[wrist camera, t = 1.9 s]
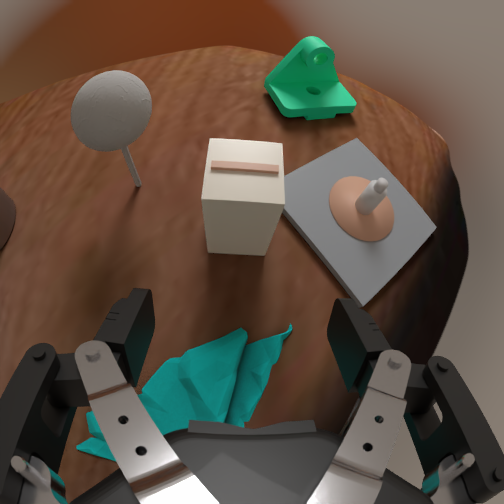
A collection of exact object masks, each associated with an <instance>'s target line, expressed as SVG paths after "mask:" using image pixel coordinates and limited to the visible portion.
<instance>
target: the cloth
mask: <svg viewBox="0 0 504 504" xmlns="http://www.w3.org/2000/svg"><path fill="white" fill-rule="evenodd" d="M292 330H293V329H292V325H291V324H290V326H289V329H288V331H287V332H285V333H282V334H279V335H275V336H272V337H269V338H265V339H262V340H259V341H256V342H254V343H251V344H249V345H246V343H247V340H248V335H247V332H246V331H244V330H243V329H242V328H239V329H237V330H235V331H233V332H231V333H229V334H227V335H226V336H223V337H221V338H219V339H216V340H214V341H211V342H208V343H206V344H203V345H201V346H198V347H195V348H193V349H190V350H188V351H187V352H186V353H185V354H184V355H183V356H182V357H179V358H170V359H169V360H167V361H166V362H165V363H164V364H163V365H162V366H161V367H160V368H159V369H158V370H157V372H156V373H155V374H154V375H153V376H152V377H151V379H150V380H149V381H148V382H147V384H146V385H145V386H144V387H143V389H142V394H140V395H137V396H138V398H139V399H140V401H141V403H142V404H143V406H144V408H145V409H146V411H147V412H148V414H149V416H150V417H151V419H152V420H153V422H154V423H155V425H156V426H157V428H158V429H159V431H160V432H161V434H162V435H165V434H167V433H169V432H172V431H175V430H179V429H184V428H188V425H189V420H198V421H212V422H223V423H227V424H231V425H235V426H239V427H244V422H247V421H249V420H250V418H251V416H252V413H253V411H254V409H255V407H256V405H257V403H258V401H259V400H260V398H261V396H262V393H263V391H264V389H265V387H266V384H267V382H268V378H269V374H270V371H271V367H272V365H273V364H275V363H277V360H278V358H279V356H280V352H281V349H282V344H283V340H284V339H285V338H286V337H287V336H288V335H289V334H290V332H291V331H292ZM86 417H87V422H88V427H89V432H90V433H91V434H92V435H94V436H95V437H97V438H89V439H88V440H86V441H85V442H83V443H81V444H79V445H77V446H76V447H77V450H80V451H83V452H86V453H89V454H93V455H96V456H99V457H103V458H107V459H110V460H113V461H116V459H115V458H114V456H113V454H112V452H111V450H110V448H109V446H108V444H107V442H106V440H105V438H104V435H103V433H102V431H101V429H100V427H99V425H98V422H97V420H96V418H95V415H94V413H93V411H91V412H88V413H86Z"/></svg>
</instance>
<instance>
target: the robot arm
mask: <svg viewBox="0 0 504 504" xmlns="http://www.w3.org/2000/svg"><path fill="white" fill-rule="evenodd" d="M15 215H16V209H15V204H14V202H13V200H12V199H11V198H10V197H9V196H8V195H7V194H6V193H5V192H4V191H3V190H2V189H1V188H0V249H1V248H2V247H3V246H4V244H5V243H6V241H7V239H8V238H9V236H10V233H11V231H12V229H13V225H14V222H15ZM154 329H155V316H154V308H153V299H152V292H151V290H150V289H140V288H133V290H132V291H131V293H130V295H129V297H128V298H127V299H125V298H122V299H120V300H119V301H118V302H116V303H115V304H114V305H113V306H112V308H111V310H110V311H109V313H108V315H107V317H106V320H104V322H103V324H102V325H101V327H100V329H99V331H98V332H97V334H96V336H95V338H94V340H93V341H88V342H85V343H83V344H82V345H80V346H79V347H78V348H77V350H76V352H75V353H69V354H57V353H56V351H55V349H54V347H53V346H51V345H50V344H47V343H40V344H36V345H34V346H32V347H31V348H29V349H28V350H27V352H26V353H25V355H24V357H23V358H22V360H21V362H20V363H19V365H18V367H17V369H16V370H15V372H14V374H13V376H12V378H11V379H10V381H9V383H8V385H7V387H6V389H5V391H4V393H3V394H2V396H1V398H0V504H68V503H67V501H66V497H65V485H64V482H63V481H62V479H61V478H60V477H59V476H58V471H59V467H60V463H61V459H62V455H63V452H64V448H65V444H66V441H67V438H68V434H69V431H70V428H71V424H72V421H73V418H74V415H75V412H76V409H77V407H81V406H91V408H92V411H93V413H94V415H95V418H96V420H97V422H98V425H99V427H100V429H101V431H102V433H103V435H104V438H105V440H106V442H107V444H108V446H109V448H110V450H111V452H112V454H113V456H114V458H115V459H116V461H117V463H118V465H119V467H120V468H119V469H117V470H116V471H115V472H113V473H112V474H110V475H109V476H108V477H106V478H105V479H104V480H102V481H101V482H99V483H98V484H96V485H95V486H94V487H92V488H91V489H89V490H88V491H86V492H85V493H83V494H82V495H80V496H79V497H77V498H76V499H74V500H73V501H72V502H71V503H70V504H483V503H484V502H486V501H488V500H489V499H491V498H492V497H494V496H495V495H497V494H498V493H500V492H501V491H503V490H504V454H503V452H502V450H501V448H500V446H499V444H498V442H497V440H496V438H495V436H494V434H493V432H492V430H491V428H490V426H489V424H488V422H487V420H486V419H485V417H484V415H483V413H482V411H481V410H480V408H479V406H478V404H477V402H476V401H475V399H474V397H473V396H472V394H471V392H470V391H469V389H468V387H467V386H466V384H465V382H464V381H463V379H462V377H461V376H460V374H459V373H458V371H457V369H456V368H455V366H454V365H453V364H452V363H451V361H449V360H448V359H446V358H444V357H441V356H433V357H431V358H430V359H429V361H428V362H427V364H426V365H420V364H412V363H411V362H410V360H409V358H408V357H407V356H406V355H405V354H403V353H402V352H399V351H396V350H392V349H391V347H390V346H389V344H388V342H387V341H386V339H385V337H384V336H383V334H382V332H381V331H379V328H378V326H377V325H376V323H375V321H374V320H373V318H372V316H371V315H369V314H368V313H367V312H366V311H364V310H363V309H359V307H358V305H357V304H356V302H355V300H354V299H343V298H338V299H336V300H335V302H334V306H333V309H332V313H331V316H330V320H329V323H328V328H327V337H328V341H329V343H330V346H331V348H332V351H333V353H334V356H335V358H336V361H337V364H338V366H339V369H340V371H341V374H342V377H343V379H344V382H345V385H346V387H347V390H348V393H350V392H359V395H360V396H359V397H358V399H357V401H356V403H355V405H354V408H353V410H352V412H351V414H350V416H349V418H348V420H347V422H346V424H345V425H344V427H343V429H342V431H341V433H340V435H338V434H335V433H333V432H330V431H327V430H324V429H319V428H316V427H315V423H314V420H306V421H292V422H282V423H278V424H274V425H270V426H266V427H262V428H258V429H249V428H244V427H239V426H235V425H231V424H227V423H223V422H212V421H198V420H189V425H188V428H184V429H179V430H175V431H172V432H169V433H167V434H165V435H162V434H161V432H160V431H159V429H158V428H157V426H156V425H155V423H154V422H153V420H152V419H151V417H150V416H149V414H148V412H147V411H146V409H145V408H144V406H143V404H142V403H141V401H140V399H139V398H138V396H137V394H136V392H135V391H134V389H133V387H136V386H137V383H138V379H139V376H140V373H141V370H142V366H143V363H144V360H145V357H146V354H147V351H148V348H149V345H150V342H151V339H152V336H153V333H154ZM436 402H437V404H438V406H439V408H440V410H441V412H442V416H443V419H442V423H441V422H440V420H439V418H438V415H437V413H436V411H435V409H434V407H433V405H434V404H435V403H436ZM403 417H404V419H405V422H406V424H407V427H408V429H409V432H410V434H411V437H412V440H413V443H414V445H415V448H416V451H417V454H418V456H419V459H420V462H421V465H422V468H423V471H424V474H425V477H424V479H423V483H422V488H421V490H420V489H418V488H417V487H415V486H413V485H412V484H410V483H408V482H407V481H405V480H404V479H402V478H401V477H399V476H398V475H396V474H394V473H393V472H391V471H390V470H388V469H387V468H386V466H387V463H388V461H389V458H390V455H391V452H392V450H393V447H394V444H395V441H396V438H397V435H398V432H399V429H400V425H401V422H402V419H403Z"/></svg>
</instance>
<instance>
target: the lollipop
mask: <svg viewBox="0 0 504 504" xmlns="http://www.w3.org/2000/svg"><path fill="white" fill-rule="evenodd" d="M151 109H152V102H151V96H150V93H149V91H148V89H147V87H146V85H145V84H144V83H143V82H142V81H141V80H140V79H139V78H138V77H136V76H135V75H133V74H131V73H128V72H124V71H116V70H113V71H108V72H104V73H101V74H99V75H97V76H95V77H93V78H92V79H90V80H89V81H87V82H86V83H85V84H84V85H83V86H82V87H81V89H80V90H79V91H78V93H77V95H76V97H75V99H74V102H73V105H72V109H71V123H72V127H73V130H74V132H75V134H76V136H77V137H78V139H79V140H80V141H81V142H82V143H83V144H85V145H86V146H87V147H89V148H91V149H94V150H98V151H105V152H106V151H114V150H118V149H121V150H122V153H123V155H124V158H125V160H126V163H127V165H128V168H129V170H130V172H131V175H132V177H133V180H134V182H135V184H136V186H137V187H140V186H141V181H140V178H139V176H138V173H137V170H136V168H135V165H134V163H133V160H132V157H131V155H130V152H129V149H128V145H129V144H131V143H132V142H134V141H135V140H136V139H137V138H138V137H139V136H140V135H141V134H142V133H143V131H144V130H145V128H146V126H147V124H148V122H149V119H150V115H151V112H152V110H151Z"/></svg>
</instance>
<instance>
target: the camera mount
mask: <svg viewBox="0 0 504 504" xmlns="http://www.w3.org/2000/svg"><path fill="white" fill-rule="evenodd" d="M334 58H335V54H334V52H333V51H332V49H331V48H330V47H328V46H327V45H326V44H325V43H324V42H323V41H322V40H321V39H320V38H318V37H315V36H309V37H306V38H304V39H302V40H301V41H300V42H299V43H298V44H297V45H296V46H295V47H294V48H293V49H292V50H291V51H290V52H289V53H288V54H287V55H286V56H285V57H284V59H283V60H282V61H281V62H280V63H279V64H278V65H277V66H276V67H275V68H274V69H273V71H272V72H271V73H270V74H269V75H268V76H267V77H266V78H265V84H264V87H265V88H266V90H267V91H268V93H269V95H270V96H271V98H272V99H273V101H274V102H275V104H276V106H277V107H278V109H279V110H280V112H281V114H282V115H284V116H286V117H300V116H304V117H305V119H306V120H314V119H326V118H334V117H335V115H336V114H338V113H352V112H353V110H354V108H355V106H356V104H357V103H356V101H355V100H354V99H353V97H352V96H351V95H350V94H349V93H348V91H347V90H346V89H345V88H344V87H343V86H342V84H341V83H340V82H339V80H338V76H337V73H336V71H335V67H334V64H333V61H334Z"/></svg>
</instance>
